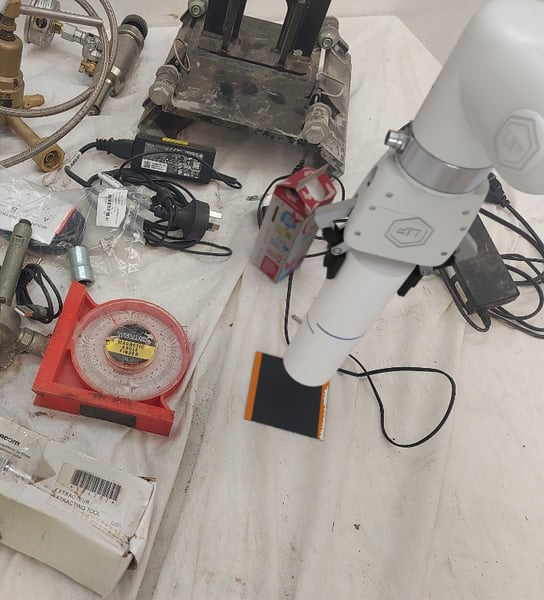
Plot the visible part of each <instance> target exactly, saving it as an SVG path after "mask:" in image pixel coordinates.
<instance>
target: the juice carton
mask: <svg viewBox="0 0 544 600" xmlns="http://www.w3.org/2000/svg"><path fill="white" fill-rule="evenodd" d="M329 165H330V164H329V163H327V164H325V165H323V166H322V167H320V168H319V169H316V168H311V167H303V168H302V169H300V170H298V171H296V172H295V173H294V174H292V175H290V176H288V177H287V178H285V179H284V180H281V182H278V183H277V184H276V185H275V187H274V189H273V192H272V194H271V198H270V201H269V202H268V206H267V209H266V212H265V215H264V217H263V220H262V223H261V226H260V228H259V231H258V234H257V236H256V240H255V242H254V244H253V248H252V251H251V254H250V255H249V258H248V262H250V263H251V264H252V265H253V266H254V267H255V268H257V269H258V270H259V271H260V272H261V273H262V274H263V275H264V276H265V277H267V278H268V279H269V280H270V281H271V282H272V283H273V284H275V285H277V284H278V283H280V282H282V281H283V280H284V279H285V278H287V277H288V276H289V275H291V274H292V273H293V272H292V271H294V272H295V271H296V270H298V269H299V268H301V267H302V265H303V263H304V261H305V259H306V256H307V254H308V253H309V250H310V248H311V247H312V245H313V242H314V240H315V238H316V236H317V234H318V233H319V230H320V229H319V227H318V226H317V224H316V222H315V220H314V214H315V209H316V208H317V207H321V206H324V205H328V204H332V203H334V202H333V201H334V200H335V197H336V196H337V194H338V191H337V188H336V187H335V185H334V184H333V182H332V181H331V179H330V177H329V176H328V174H327V172H326V171H327V169H328V167H329ZM291 272H292V273H291ZM290 273H291V274H290Z"/></svg>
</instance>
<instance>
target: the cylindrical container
mask: <svg viewBox="0 0 544 600" xmlns="http://www.w3.org/2000/svg"><path fill="white" fill-rule="evenodd" d="M415 266H416V264H413V263H408V262H404V261H400V260H395V259H391V258H387V257H383V256H378V255H374V254H370V253H366V252H362V251H359V250H356V249H353V248H351V249H349V250H348V251H346V252H345V260H344V262H343V263H342V265H341V267H340V268H339V270H338V272H337V274H336V275H335V277H334V279H331V280H330V279H326V278H325V280H324V281H323V283H322V285H321V287H320V289H319V290H318V292H317V294H316V296H315V297H314V299H313V301H312V303H310V304H311V305H310V306H309V308H308V310H307V312H306V313H305V315H304V317H303V318H302V321H301V322H300V324H299V325H298V327H297V330H296V331H295V333H294V335H293V336H292V338H291V340H290V342H289V343H288V345H287V347H286V349H285V350H284V354H283V357H282V358H283V361H284V366H285V368H286V370H287V372H288V374H289V375H290V376H291V377H292V378H293V379H294V380H296V381H297V382H299V383H301V384H304V385H307V386H321V385H323V384H325V383H327V382H328V381H329V382H330V380H331V379H332V378H333V376H335V374H336V372H338V371H339V369H340V367H341V366H342V364H343V363H344V362H345V361H346V359H347V358H348V357H349V355H350V354H351V353H352V352H353V350H354V349H355V348H356V346H357V345H358V343H359V342H360V341H361V340H362V338H363V337H364V336H365V334H366V333H367V331H368V330H369V329H370V328H371V326H372V325H373V324H374V323H375V321H376V320H377V319H378V317H379V316H380V315H381V314H382V312H383V311H384V309H385V308H386V306H387V305H388V304H389V303H390V302H391V300H392V299H393V298H394V296H395V295H396V294H397V291H398V289H399V288H400V287H401V285H402V284H403V283H404V281H405V280H406V279H407V278H408V276H409V275H410V274H411V272H412V271H413V270H414V268H415Z"/></svg>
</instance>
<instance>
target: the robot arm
mask: <svg viewBox="0 0 544 600" xmlns="http://www.w3.org/2000/svg"><path fill="white" fill-rule="evenodd" d="M384 146H388V147H389V148H388V149H387V150H386V151H385V152H384V153H383V155H382V156H381V157H379V159H378V160H377V161H376V162H375V164H374V165H373V166H372V167H371V169H370V170H369V172H368V173H367V174H366V176H364V178H363V180H362V181H361V183H360V185H359V186H358V188H357V189H356V191H355V192H354V194H353V196H352V197H351V198H347V199H344V200H339V201H336V202H332V204H328V205H324V206H321V207H317V208H316V209H315V214H314V220H315V222H316V224H317V226H318V227H319V230H320V232H321V236H322V237H323V239H324V241H326V243H327V245H328V244H329V245H330V246H329V248H327V250H326V251H325V254H324V256H323V259H322V260H323V261H322V267H324V268H326V274H325V275H326V276H325V280H326V279H330V280H331V279H334V277H335V275H336V274H337V272H338V270H339V268H340V267H341V265H342V263H343V262H344V260H345V252H346V251H348V250H349V249H351V248H353V249H356V250H359V251H362V252H366V253H370V254H374V255H378V256H383V257H387V258H391V259H395V260H400V261H404V262H408V263H413V264H416V266H415V268H414V270H413V271H412V272H411V274H410V275H409V276H408V278H407V279H406V280H405V281H404V283H403V284H402V285H401V287H400V288H399V289H398V291H397V292H396V295H398V297H401V298H404V297H406V296H407V294H408V293H409V291H411V289H414V288H416V287H417V285H418V284H419V283H420V282H421V280H422V279H423V278H424V277H428V276H431V275H433V274H434V271H436V270H440V269H444V268H449V267H452V266H454V265H455V264H456V263H457V262H458V263H461V262H463V261H466V260H469V259H472V258H475V257H477V256H478V254H479V253H478V243H477V242H476V241H475V239H473V237H472V236H471V234H470V233H469V232H468V231H469V230H470V228H471V227H472V224H473V222H474V221H475V219H476V218H477V215H478V214H479V212H480V210H481V208H482V206H483V204H484V202H485V200H486V198H487V195H488V193H489V191H490V181H489V178H488V177H489V175H490V174H491V172H492V171H493V169H494V170H495V172H496V173H497V174H498V175H499V176H500V178H501V179H502V180H503V181H504V182H505V183H506V184H508V186H510V187H511V188H513V189H514V190H516V191H518V192H521V193H523V194H528V195H532V196H544V2H543V1H540V0H490V1H488V2H486V3H485V4H482V6H481V7H479V8H478V9H477V10H476V11H475V13H474V14H473V15H472V16H471V17H470V19H469V20H468V22H467V24H466V26H465V27H464V28H463V31H462V32H461V34H460V36H459V38H458V39H457V41H456V43H455V44H454V46H453V49H452V50H451V52H450V54H449V55H448V57H447V59H446V60H445V63H444V64H443V66H442V67H441V70H440V72H439V73H438V75H437V77H436V78H435V80H434V83H433V84H432V86H431V87H430V89H429V91H428V93H427V95H426V96H425V98H424V100H423V102H422V104H421V105H420V107H419V109H418V110H417V112H416V114H415V116H414V118H413V119H410V120H409V122H408V124H407V126H405V127H404V128H403V129H402V130H401V129H398V130H394V129H389V130H388V131H387V133H386V134H385V138H384ZM345 218H347V220H346V222H344V223H343V224H341V225H338V224H337V223H336V222H335V221H337V220H341V219H345Z"/></svg>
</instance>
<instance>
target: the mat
mask: <svg viewBox="0 0 544 600" xmlns="http://www.w3.org/2000/svg"><path fill="white" fill-rule="evenodd" d="M283 358H284V357H280V356H276V355H274V354H273V355H272V354H269V353H265V352H261V351H258V350H256V351H255V356H254V361H253V367H252V372H251V377H250V383H249V390H248V395H247V401H246V405H245V410H244V411H245V412H244V417H243V419H244V420H247V421H251V422H254V423H258V424H261V425H265V426H269V427H271V428H277V429H280V430H283V431H287V432H290V433H294V434H298V435H302V436H305V437H309V438H313V439H315V440H319V439H320V437H319V436H320V435H321V433H320V432H321V430H322V429H323V428H321V427H322V426H323V425H322V423H323V418H324V415H323V414H324V412H325V411H324V408H325V406H324V404H323V403H324V399H323V398H324V396H325V395H323V394H325V392H324V391H325V389H327V386H329V387H330V380H329V381H328V382H327V383H325V384H323V385H321V386H307V385H304V384H301V383H299V382H297V381H296V380H294V379H293V378H292V377H291V376H290V375H289V374H288V372H287V370H286V368H285V366H284V361H283Z"/></svg>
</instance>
